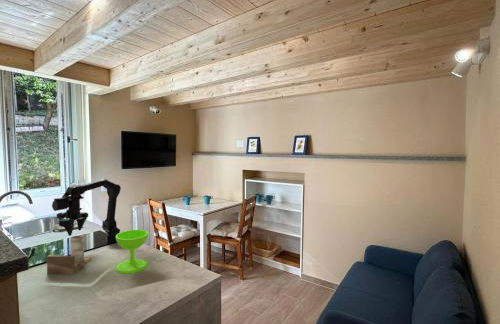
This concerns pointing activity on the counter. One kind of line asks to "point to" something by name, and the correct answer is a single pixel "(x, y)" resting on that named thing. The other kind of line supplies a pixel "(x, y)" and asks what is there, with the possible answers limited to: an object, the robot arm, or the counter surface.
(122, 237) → the wineglass
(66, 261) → the roll holder
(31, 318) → the counter surface
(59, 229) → the dish towel
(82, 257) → the roll carriage
